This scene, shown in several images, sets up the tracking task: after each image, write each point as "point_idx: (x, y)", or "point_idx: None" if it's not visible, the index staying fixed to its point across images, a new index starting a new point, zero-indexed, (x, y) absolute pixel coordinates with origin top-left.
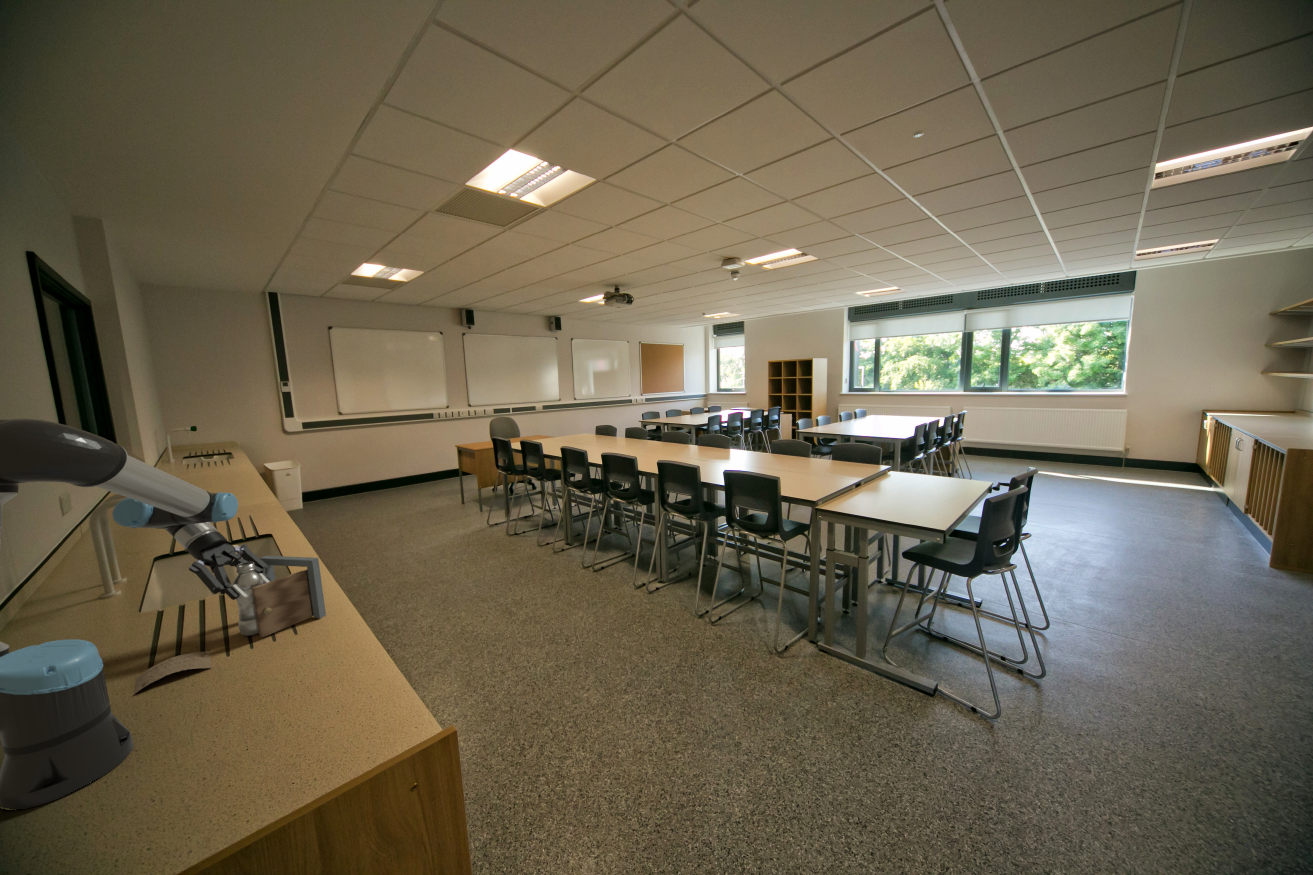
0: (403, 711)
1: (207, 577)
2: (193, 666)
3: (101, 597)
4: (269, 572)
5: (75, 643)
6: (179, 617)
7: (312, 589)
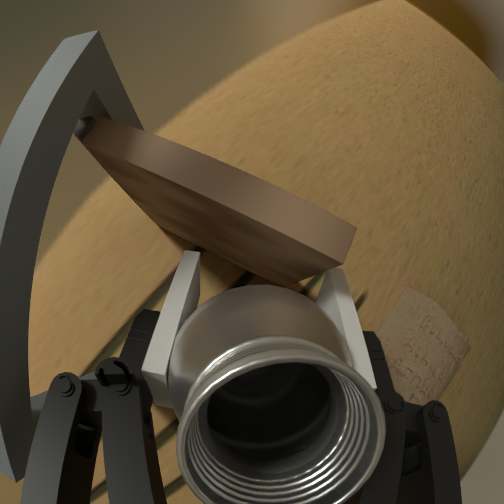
0: (388, 4)
1: (458, 499)
2: (427, 312)
3: None
4: None
5: None
6: None
7: None
